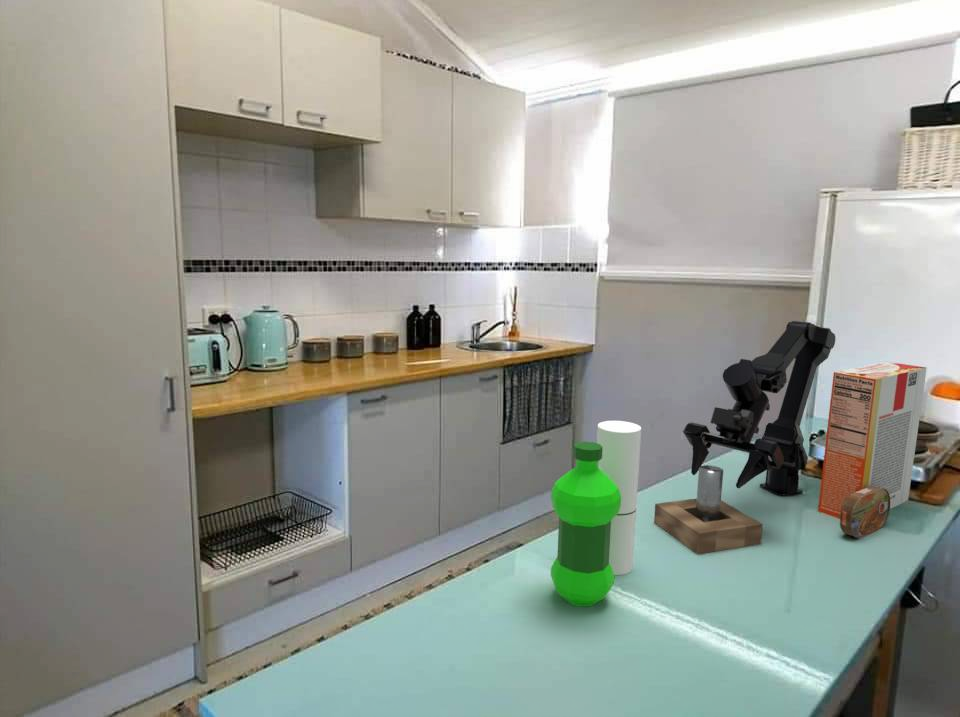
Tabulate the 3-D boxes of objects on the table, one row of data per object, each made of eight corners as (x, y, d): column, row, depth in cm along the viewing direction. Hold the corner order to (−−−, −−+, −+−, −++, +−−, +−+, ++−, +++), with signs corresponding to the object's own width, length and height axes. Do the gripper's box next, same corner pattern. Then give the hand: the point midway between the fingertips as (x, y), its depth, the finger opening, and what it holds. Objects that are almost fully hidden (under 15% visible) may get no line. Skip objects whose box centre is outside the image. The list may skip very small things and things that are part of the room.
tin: (850, 543, 124) (855, 501, 123) (834, 536, 127) (838, 495, 125) (889, 525, 132) (894, 485, 131) (873, 519, 135) (878, 480, 133)
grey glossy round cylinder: (692, 527, 130) (697, 464, 127) (715, 529, 129) (721, 466, 127) (695, 537, 125) (701, 472, 123) (719, 539, 125) (725, 474, 122)
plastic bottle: (622, 591, 106) (631, 442, 101) (599, 623, 97) (608, 461, 92) (565, 574, 110) (570, 432, 106) (538, 603, 102) (543, 449, 97)
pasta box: (869, 489, 152) (886, 361, 146) (908, 500, 145) (926, 367, 140) (817, 511, 139) (833, 372, 133) (857, 524, 132) (875, 379, 127)
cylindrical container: (630, 556, 117) (638, 421, 113) (635, 576, 110) (644, 433, 106) (589, 554, 118) (596, 419, 113) (592, 573, 111) (599, 431, 106)
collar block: (654, 522, 132) (655, 503, 131) (712, 514, 136) (713, 496, 135) (697, 554, 119) (699, 533, 118) (760, 544, 123) (762, 524, 122)
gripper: (690, 383, 134) (657, 446, 129) (783, 401, 120) (750, 472, 115) (707, 414, 141) (676, 475, 135) (796, 433, 127) (766, 502, 122)
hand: (714, 480), depth 127 cm, fingers open, 9 cm apart
